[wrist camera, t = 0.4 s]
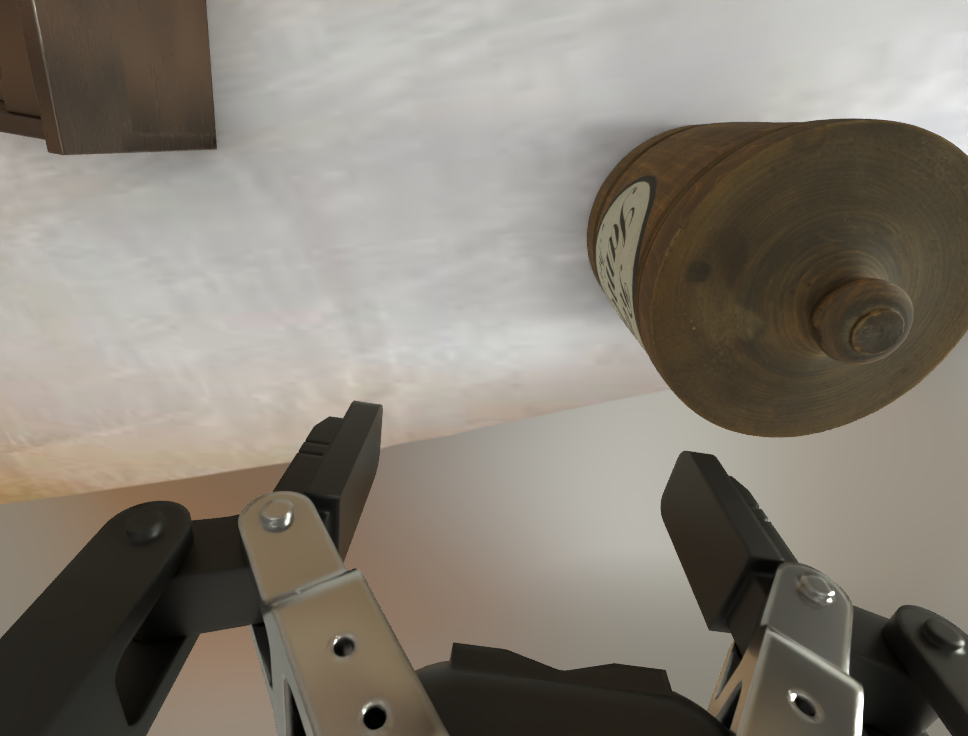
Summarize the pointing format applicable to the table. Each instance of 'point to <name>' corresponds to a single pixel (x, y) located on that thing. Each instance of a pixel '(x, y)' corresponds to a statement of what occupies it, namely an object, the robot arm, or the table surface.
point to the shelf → (107, 75)
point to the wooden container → (788, 265)
